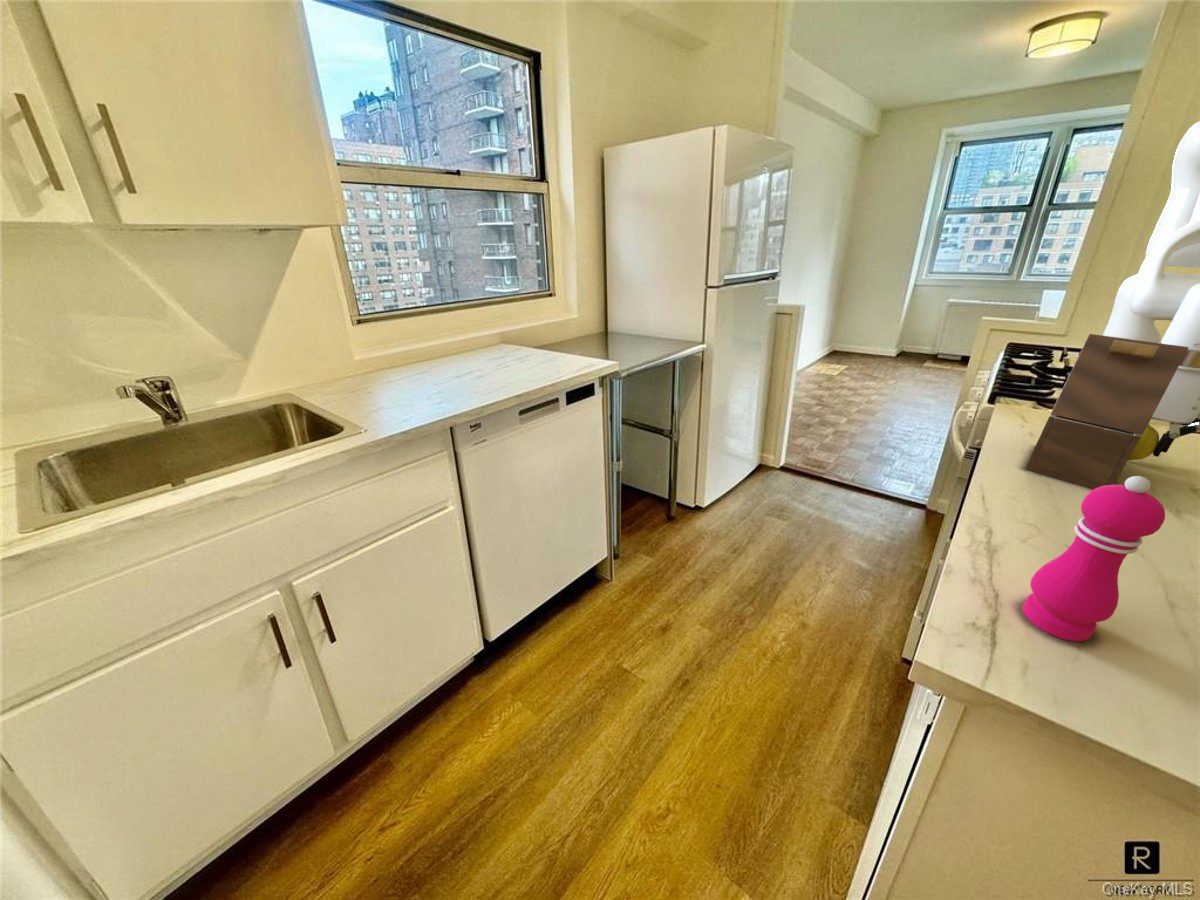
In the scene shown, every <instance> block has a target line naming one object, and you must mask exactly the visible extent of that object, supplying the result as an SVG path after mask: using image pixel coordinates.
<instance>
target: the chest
mask: <svg viewBox="0 0 1200 900" xmlns="http://www.w3.org/2000/svg"><path fill="white" fill-rule="evenodd" d="M1140 438H1141V435H1140V434H1135V433H1131V432H1126V431H1122V430H1117V429H1113V428H1108V427H1104V426H1100V425H1095V424H1091V423H1086V422H1082V421H1077V420H1073V419H1068V418H1064V417H1060V416H1055V415H1051V414H1050V415H1049V416H1048V418H1047V421H1046V422H1045V424H1044V427H1043V429H1042V431H1041V433H1040V435H1039V438H1038V440H1037V442H1036V444H1035V446H1034V447H1033V450H1032V452H1031V455H1030V456H1029V459H1028V461H1027V463H1026V465H1025V467H1024V470H1027V471H1030V472H1033V473H1037V474H1040V475H1042V476H1043V475H1044V476H1047V477H1051V478H1054V479H1058V480H1061V481H1063V482H1064V481H1065V482H1068V483H1071V484H1074V485H1079V486H1081V487H1085V488H1088V489H1092V490H1094V489H1096V488H1098V487H1101V486H1105V485H1115V483H1116V481H1117V480H1118V478H1119V477H1120V474H1121V472H1122V471H1123V469H1124V468H1125V466H1126V464H1127V462H1128V461H1127V460H1128V459H1129V457H1130V455H1131V453H1132V452H1133V450H1134V448H1135V446H1136V445H1137V443H1138V441H1139V439H1140Z"/></svg>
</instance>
